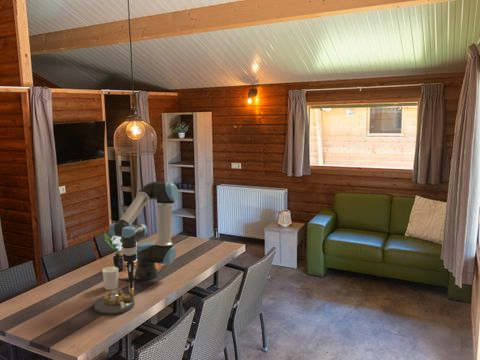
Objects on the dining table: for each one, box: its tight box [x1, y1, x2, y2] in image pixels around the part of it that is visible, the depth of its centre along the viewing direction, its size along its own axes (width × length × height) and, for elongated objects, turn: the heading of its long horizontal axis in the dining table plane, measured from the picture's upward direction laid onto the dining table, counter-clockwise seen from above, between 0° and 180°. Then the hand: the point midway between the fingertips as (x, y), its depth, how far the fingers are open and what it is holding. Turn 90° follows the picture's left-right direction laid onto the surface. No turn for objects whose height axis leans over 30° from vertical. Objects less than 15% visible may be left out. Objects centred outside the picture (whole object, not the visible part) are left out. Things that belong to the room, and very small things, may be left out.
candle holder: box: [101, 266, 119, 291], centre depth 260 cm, size 10×10×12 cm
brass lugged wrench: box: [103, 286, 135, 305], centre depth 235 cm, size 17×11×7 cm, turn 97°
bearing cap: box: [93, 292, 135, 316], centre depth 235 cm, size 22×22×7 cm
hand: (131, 291), depth 238 cm, fingers closed
